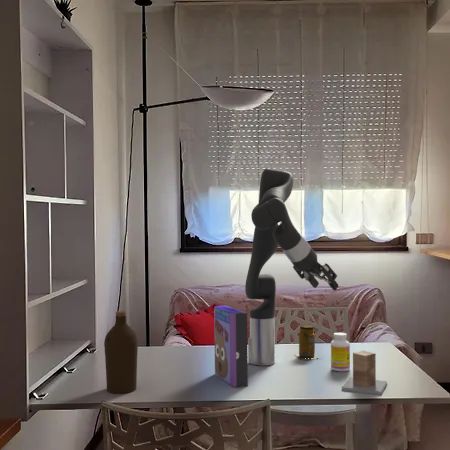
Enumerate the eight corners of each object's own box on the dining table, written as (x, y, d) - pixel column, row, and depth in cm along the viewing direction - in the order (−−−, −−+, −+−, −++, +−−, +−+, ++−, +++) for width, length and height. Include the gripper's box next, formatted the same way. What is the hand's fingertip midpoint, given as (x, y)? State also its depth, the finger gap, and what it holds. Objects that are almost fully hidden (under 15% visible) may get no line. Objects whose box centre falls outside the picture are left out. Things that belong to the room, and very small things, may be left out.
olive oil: (131, 395, 176) (130, 314, 176) (99, 393, 179) (98, 313, 178) (143, 385, 187) (142, 309, 186) (113, 383, 189) (112, 308, 189)
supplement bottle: (350, 372, 200) (349, 336, 200) (330, 371, 201) (330, 335, 201) (349, 367, 207) (349, 332, 206) (331, 366, 208) (330, 331, 208)
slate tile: (341, 390, 180) (341, 387, 180) (350, 380, 191) (350, 377, 191) (380, 394, 175) (380, 391, 175) (386, 384, 186) (386, 381, 186)
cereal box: (214, 374, 199) (214, 305, 199) (227, 372, 201) (226, 304, 201) (234, 387, 183) (233, 313, 183) (247, 386, 185) (247, 312, 185)
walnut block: (365, 387, 179) (365, 355, 179) (353, 383, 183) (352, 352, 183) (375, 384, 182) (375, 353, 182) (363, 381, 186) (363, 350, 186)
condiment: (312, 354, 227) (311, 324, 227) (320, 359, 219) (320, 328, 219) (294, 355, 226) (294, 325, 226) (302, 360, 217) (302, 329, 217)
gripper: (322, 243, 168) (349, 280, 175) (289, 242, 180) (316, 276, 187) (309, 262, 165) (337, 298, 172) (277, 260, 177) (304, 293, 184)
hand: (326, 287), depth 179 cm, fingers open, 8 cm apart
